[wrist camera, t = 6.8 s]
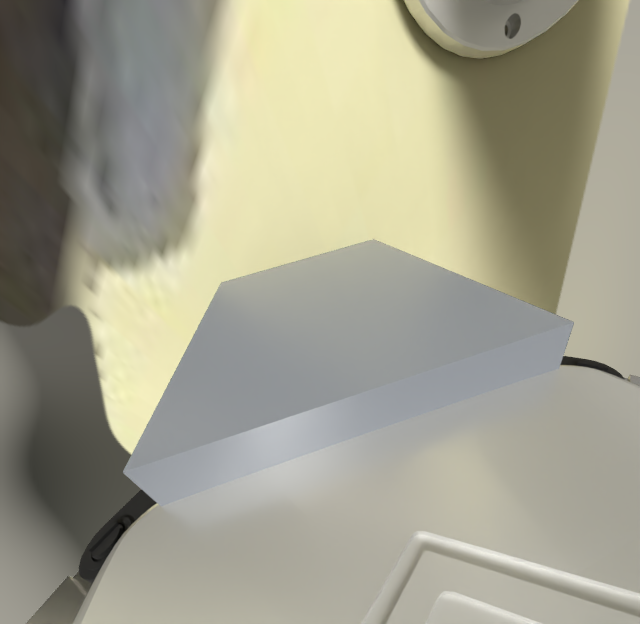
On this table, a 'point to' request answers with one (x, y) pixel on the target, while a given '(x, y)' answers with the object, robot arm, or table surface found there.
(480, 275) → the table surface
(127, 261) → the table surface
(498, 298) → the grey cube
